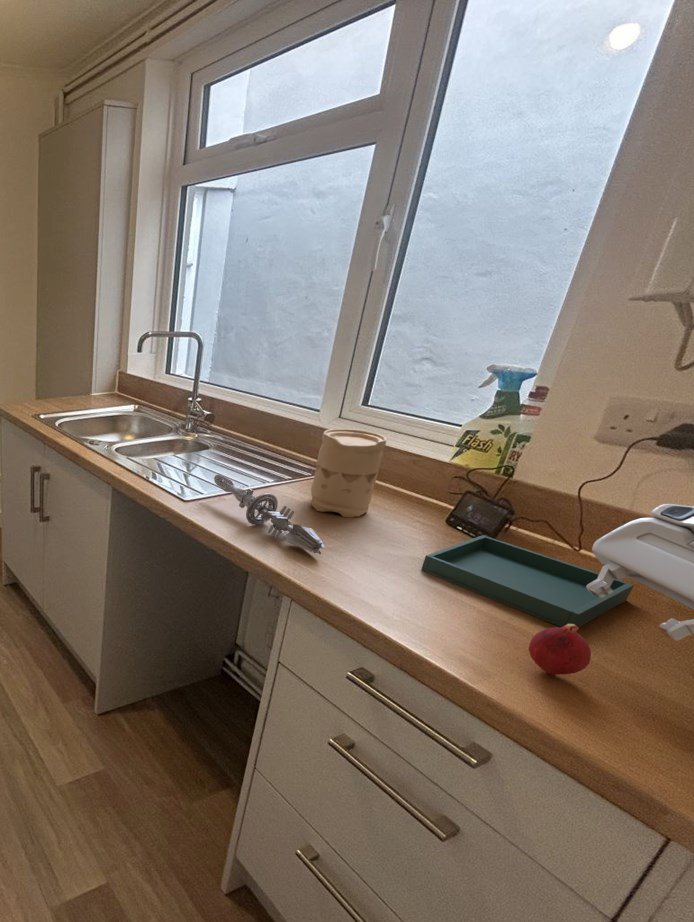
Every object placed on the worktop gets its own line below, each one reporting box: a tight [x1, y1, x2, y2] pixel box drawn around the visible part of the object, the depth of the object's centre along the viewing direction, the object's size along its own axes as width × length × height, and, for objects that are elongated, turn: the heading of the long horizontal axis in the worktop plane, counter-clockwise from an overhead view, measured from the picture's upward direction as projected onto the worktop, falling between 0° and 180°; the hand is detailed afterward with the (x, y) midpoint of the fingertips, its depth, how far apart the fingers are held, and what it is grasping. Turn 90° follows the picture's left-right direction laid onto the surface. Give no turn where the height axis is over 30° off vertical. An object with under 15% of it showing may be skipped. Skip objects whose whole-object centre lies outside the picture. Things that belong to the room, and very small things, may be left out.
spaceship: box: [213, 474, 326, 555], centre depth 117 cm, size 8×35×8 cm
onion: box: [528, 624, 592, 676], centre depth 71 cm, size 6×6×8 cm
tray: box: [421, 534, 635, 628], centre depth 93 cm, size 22×20×3 cm
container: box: [310, 428, 388, 518], centre depth 124 cm, size 13×13×18 cm
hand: (626, 612), depth 68 cm, fingers open, 8 cm apart
